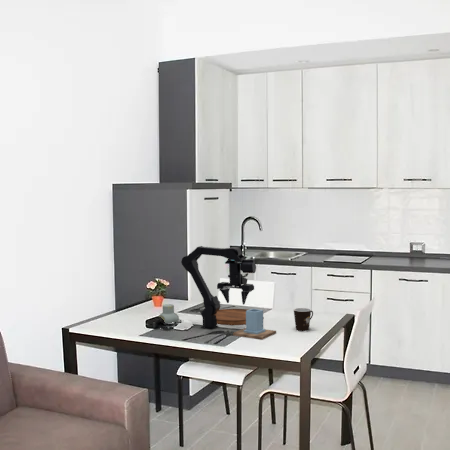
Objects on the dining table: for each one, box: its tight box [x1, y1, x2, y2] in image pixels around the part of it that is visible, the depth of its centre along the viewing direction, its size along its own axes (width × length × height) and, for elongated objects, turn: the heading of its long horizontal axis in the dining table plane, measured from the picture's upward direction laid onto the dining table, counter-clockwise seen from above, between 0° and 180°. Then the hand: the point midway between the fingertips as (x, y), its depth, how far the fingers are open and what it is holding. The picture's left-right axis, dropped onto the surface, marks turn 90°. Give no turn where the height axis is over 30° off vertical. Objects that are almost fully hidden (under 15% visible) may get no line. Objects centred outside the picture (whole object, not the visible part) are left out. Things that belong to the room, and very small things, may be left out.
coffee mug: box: [293, 307, 314, 332], centre depth 305 cm, size 12×9×10 cm
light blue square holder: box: [244, 308, 267, 335], centre depth 296 cm, size 8×8×10 cm
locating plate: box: [232, 327, 277, 341], centre depth 297 cm, size 16×14×4 cm
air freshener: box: [158, 303, 180, 323], centre depth 321 cm, size 11×8×10 cm
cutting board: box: [215, 308, 264, 326], centre depth 332 cm, size 32×32×3 cm
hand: (235, 303), depth 306 cm, fingers open, 9 cm apart
